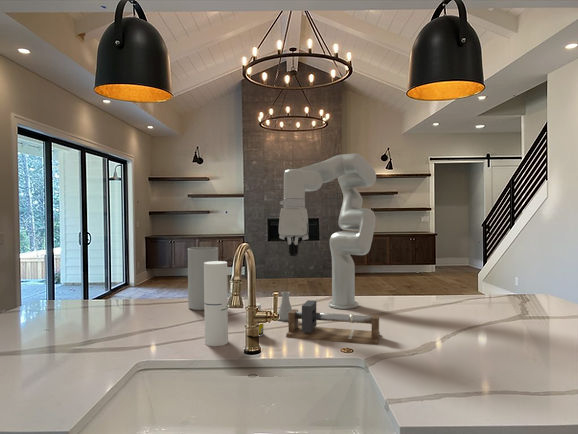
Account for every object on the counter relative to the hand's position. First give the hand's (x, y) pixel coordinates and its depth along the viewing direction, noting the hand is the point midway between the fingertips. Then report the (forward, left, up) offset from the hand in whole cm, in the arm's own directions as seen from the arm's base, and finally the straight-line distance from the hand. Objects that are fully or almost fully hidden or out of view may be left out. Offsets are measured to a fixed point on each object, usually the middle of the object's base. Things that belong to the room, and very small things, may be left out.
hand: (293, 255), depth 148 cm
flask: (-7, -5, -25) cm, 27 cm away
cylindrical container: (+25, -18, -25) cm, 40 cm away
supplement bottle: (+15, -9, -25) cm, 31 cm away
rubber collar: (+9, +8, -23) cm, 26 cm away
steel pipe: (+9, +16, -20) cm, 27 cm away
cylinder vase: (-16, -44, -25) cm, 53 cm away
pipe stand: (+9, +16, -25) cm, 31 cm away
